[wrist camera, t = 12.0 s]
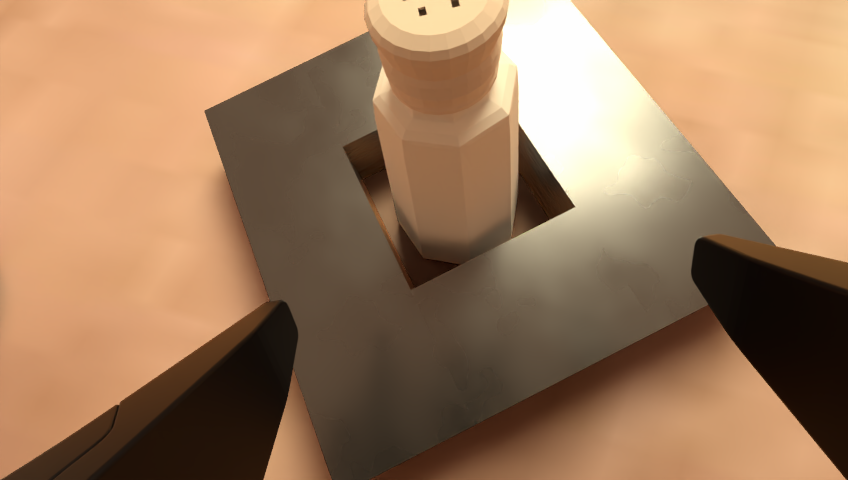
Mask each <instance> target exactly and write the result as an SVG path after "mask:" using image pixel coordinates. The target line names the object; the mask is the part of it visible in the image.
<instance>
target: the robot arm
mask: <svg viewBox="0 0 848 480" xmlns="http://www.w3.org/2000/svg"><path fill="white" fill-rule="evenodd" d="M691 276H692V279H693V282H694V283H695V285H696V287H697V288H698V290H699V291H700V293H701V294H702V296H703V297H704V299H705V300H706V302H707V303H708V305H709V306H710V308H711V309H712V311H713V312H714V314H715V316H716V317H717V319H718V320H719V322H720V323H721V325H722V326H723V328H724V329H725V331H726V332H727V334H728V335H729V336H730V338H731V339H732V341H733V342H734V343H735V344H736V346H737V347H738V348H739V350H740V351H741V352H742V353H743V354H744V356H745V357H746V358H747V359H748V361H749V362H750V363H751V364H752V365H753V367H754V368H755V369H756V370H757V371H758V373H759V374H760V375H761V376H762V378H763V379H764V380H765V381H766V382H767V384H768V385H769V386H770V387H771V389H772V390H773V391H774V392H775V393H776V395H777V396H778V397H779V398H780V399H781V401H782V402H783V403H784V404H785V406H786V407H787V408H788V409H789V410H790V412H791V413H792V414H793V415H794V416H795V418H796V419H797V420H798V421H799V423H800V424H801V425H802V426H803V427H804V429H805V430H806V431H807V432H808V434H809V435H810V436H811V437H812V438H813V440H814V441H815V442H816V443H817V444H818V446H819V447H820V448H821V449H822V451H823V452H824V453H825V454H826V455H827V457H828V458H829V459H830V460H831V461H832V463H833V464H834V465H835V466H836V468H837V469H838V470H839V471H840V472H841V474H842V475H843V476H844V477H845V479H846V480H848V263H847V262H843V261H838V260H834V259H830V258H825V257H821V256H816V255H812V254H807V253H803V252H799V251H794V250H790V249H785V248H781V247H776V246H772V245H768V244H763V243H759V242H754V241H750V240H745V239H741V238H737V237H732V236H728V235H723V234H714V235H707V236H701V237H699V238H698V239H697V240H696V241H695V244H694V251H693V258H692V265H691ZM297 343H298V328H297V326H296V323H295V321H294V318H293V316H292V313H291V311H290V308H289V306H288V304H287V303H286V301H284V300H276V301H270V302H266V303H264V304H263V305H261V306H260V307H258V308H257V309H255V310H254V311H253V312H251V313H250V314H248V315H247V316H245V317H244V318H242V319H241V320H239V321H238V322H236V323H235V324H234V325H232V326H231V327H229V328H228V329H226V330H225V331H223V332H222V333H220V334H219V335H217V336H216V337H215V338H213V339H212V340H210V341H209V342H207V343H206V344H204V345H203V346H201V347H200V348H198V349H197V350H196V351H194V352H193V353H191V354H190V355H188V356H187V357H185V358H184V359H182V360H181V361H179V362H178V363H177V364H175V365H174V366H172V367H171V368H169V369H168V370H166V371H165V372H163V373H162V374H160V375H159V376H158V377H156V378H155V379H153V380H152V381H150V382H149V383H147V384H146V385H144V386H143V387H141V388H140V389H139V390H137V391H136V392H134V393H133V394H131V395H130V396H128V397H127V398H125V399H124V400H122V401H121V402H120V405H115V406H114V407H112V408H111V409H109V410H108V411H106V412H105V413H103V414H102V415H100V416H99V417H97V418H96V419H94V420H93V421H91V422H90V423H88V424H87V425H85V426H84V427H82V428H81V429H79V430H78V431H76V432H75V433H73V434H72V435H70V436H69V437H67V438H66V439H65V440H63V441H61V442H60V443H58V444H57V445H55V446H54V447H52V448H50V449H49V450H47V451H46V452H44V453H43V454H41V455H39V456H38V457H36V458H35V459H33V460H32V461H30V462H29V463H27V464H25V465H24V466H22V467H21V468H19V469H17V470H16V471H14V472H13V473H11V474H9V475H8V476H6V477H5V478H3V479H1V480H263V479H264V475H265V472H266V469H267V465H268V462H269V459H270V455H271V452H272V449H273V445H274V442H275V438H276V435H277V432H278V428H279V425H280V422H281V418H282V415H283V412H284V408H285V405H286V401H287V397H288V392H289V388H290V382H291V376H292V371H293V365H294V360H295V354H296V348H297Z"/></svg>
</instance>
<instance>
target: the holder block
mask: <svg viewBox="0 0 848 480" xmlns="http://www.w3.org/2000/svg"><path fill="white" fill-rule="evenodd" d="M502 51H503V52H504V53H505V54H506V55H507V56H508V57H509V58H510V59H511V60H512V61H513V62H514V63H515V64H516V65H517V70H518V83H519V126H518V171H519V173H520V174H521V176H522V177H523V179H524V180H525V182H526V183H527V185H528V187H529V188H530V190H531V191H532V193H533V194H534V196H535V197H536V199H537V201H538V202H539V204H540V205H541V207H542V208H543V210H544V211H545V213H546V215H547V216H548V218H549V219H550V220H549V221H547V222H545V223H543V224H541V225H539V226H537V227H535V228H533V229H531V230H529V231H527V232H525V233H523V234H521V235H519V236H517V237H515V238H513V239H511V240H509V241H507V242H505V243H503V244H501V245H499V246H497V247H495V248H493V249H491V250H489V251H487V252H485V253H483V254H481V255H479V256H477V257H475V258H473V259H471V260H469V261H467V262H465V263H463V264H461V265H459V266H457V267H455V268H453V269H452V270H450V271H448V272H446V273H444V274H442V275H440V276H438V277H436V278H434V279H432V280H430V281H428V282H426V283H424V284H422V285H420V286H418V287H416V288H414V286H413V284H412V282H411V280H410V278H409V275H408V273H407V271H406V269H405V267H404V265H403V263H402V261H401V259H400V257H399V255H398V253H397V250H396V248H395V246H394V244H393V242H392V240H391V238H390V236H389V234H388V232H387V230H386V228H385V226H384V223H383V221H382V219H381V217H380V215H379V213H378V211H377V209H376V207H375V205H374V203H373V201H372V198H371V196H370V194H369V192H368V190H367V188H366V186H365V184H364V182H363V179H365V178H367V177H369V176H371V175H373V174H375V173H377V172H379V171H381V170H383V169H385V168H386V166H385V161H384V157H383V152H382V148H381V143H380V139H379V135H378V130H377V126H376V121H375V115H374V108H373V101H372V100H373V97H374V93H375V90H376V86H377V83H378V79H379V76H380V72H381V69H382V62H381V60H380V56H379V54H378V47H377V46H376V45H375V43H374V42H373V41H372V38H371V36H370V33H369V31H368V32H366V33H364V34H362V35H360V36H358V37H356V38H354V39H352V40H350V41H348V42H346V43H344V44H342V45H340V46H337V47H335V48H333V49H331V50H329V51H327V52H325V53H323V54H321V55H319V56H317V57H315V58H313V59H311V60H309V61H307V62H304V63H302V64H300V65H298V66H296V67H294V68H292V69H290V70H288V71H286V72H284V73H282V74H280V75H278V76H276V77H273V78H271V79H269V80H267V81H265V82H263V83H261V84H259V85H257V86H255V87H253V88H251V89H249V90H247V91H245V92H242V93H240V94H238V95H236V96H234V97H232V98H230V99H228V100H226V101H224V102H222V103H220V104H218V105H216V106H214V107H211V108H209V109H207V110H205V114H206V117H207V120H208V123H209V126H210V129H211V132H212V134H213V137H214V140H215V143H216V146H217V149H218V152H219V155H220V158H221V160H222V163H223V166H224V169H225V172H226V175H227V178H228V181H229V184H230V186H231V189H232V192H233V195H234V198H235V201H236V204H237V207H238V210H239V212H240V215H241V218H242V221H243V224H244V227H245V230H246V233H247V236H248V238H249V241H250V244H251V247H252V250H253V253H254V256H255V259H256V262H257V264H258V267H259V270H260V273H261V276H262V279H263V282H264V285H265V287H266V290H267V293H268V296H269V299H270V301H276V300H284V301H286V303H287V304H288V306H289V308H290V311H291V313H292V316H293V318H294V321H295V323H296V326H297V328H298V343H297V348H296V354H295V360H294V365H293V368H294V371H295V374H296V377H297V380H298V383H299V386H300V389H301V391H302V394H303V397H304V400H305V403H306V406H307V409H308V412H309V415H310V417H311V420H312V423H313V426H314V429H315V432H316V435H317V438H318V441H319V443H320V446H321V449H322V452H323V455H324V458H325V461H326V464H327V467H328V469H329V472H330V475H331V478H332V480H369V479H371V478H373V477H375V476H377V475H379V474H381V473H383V472H385V471H387V470H389V469H391V468H393V467H395V466H396V465H398V464H400V463H402V462H404V461H406V460H408V459H410V458H412V457H414V456H416V455H418V454H420V453H422V452H424V451H426V450H428V449H429V448H431V447H433V446H435V445H437V444H439V443H441V442H443V441H445V440H447V439H449V438H451V437H453V436H455V435H457V434H459V433H460V432H462V431H464V430H466V429H468V428H470V427H472V426H474V425H476V424H478V423H480V422H482V421H484V420H486V419H488V418H490V417H492V416H493V415H495V414H497V413H499V412H501V411H503V410H505V409H507V408H509V407H511V406H513V405H515V404H517V403H519V402H521V401H523V400H524V399H526V398H528V397H530V396H532V395H534V394H536V393H538V392H540V391H542V390H544V389H546V388H548V387H550V386H552V385H554V384H555V383H557V382H559V381H561V380H563V379H565V378H567V377H569V376H571V375H573V374H575V373H577V372H579V371H581V370H583V369H585V368H587V367H588V366H590V365H592V364H594V363H596V362H598V361H600V360H602V359H604V358H606V357H608V356H610V355H612V354H614V353H616V352H618V351H619V350H621V349H623V348H625V347H627V346H629V345H631V344H633V343H635V342H637V341H639V340H641V339H643V338H645V337H647V336H649V335H651V334H652V333H654V332H656V331H658V330H660V329H662V328H664V327H666V326H668V325H670V324H672V323H674V322H676V321H678V320H680V319H682V318H683V317H685V316H687V315H689V314H691V313H693V312H695V311H697V310H699V309H701V308H703V307H705V306H707V305H708V303H707V302H706V300H705V299H704V297H703V296H702V294H701V293H700V291H699V290H698V288H697V287H696V285H695V283H694V282H693V279H692V276H691V265H692V258H693V251H694V244H695V241H696V240H697V239H698V238H699V237H701V236H707V235H714V234H723V235H728V236H732V237H737V238H741V239H745V240H750V241H754V242H759V243H763V244H768V245H772V246H776V245H775V244H774V243H773V242H772V241H771V239H770V238H769V237H768V236H767V235H766V234H765V232H764V231H763V230H762V229H761V228H760V226H759V225H758V224H757V223H756V222H755V220H754V219H753V218H752V217H751V216H750V214H749V213H748V212H747V211H746V210H745V208H744V207H743V206H742V205H741V204H740V203H739V201H738V200H737V199H736V198H735V197H734V195H733V194H732V193H731V192H730V191H729V189H728V188H727V187H726V186H725V185H724V183H723V182H722V181H721V180H720V179H719V177H718V176H717V175H716V174H715V173H714V172H713V170H712V169H711V168H710V167H709V166H708V164H707V163H706V162H705V161H704V160H703V158H702V157H701V156H700V155H699V154H698V152H697V151H696V150H695V149H694V148H693V147H692V145H691V144H690V143H689V142H688V141H687V139H686V138H685V137H684V136H683V135H682V133H681V132H680V131H679V130H678V129H677V127H676V126H675V125H674V124H673V123H672V121H671V120H670V119H669V118H668V117H667V116H666V114H665V113H664V112H663V111H662V110H661V108H660V107H659V106H658V105H657V104H656V102H655V101H654V100H653V99H652V98H651V96H650V95H649V94H648V93H647V92H646V90H645V89H644V88H643V87H642V86H641V85H640V83H639V82H638V81H637V80H636V79H635V77H634V76H633V75H632V74H631V73H630V71H629V70H628V69H627V68H626V67H625V65H624V64H623V63H622V62H621V61H620V60H619V58H618V57H617V56H616V55H615V54H614V52H613V51H612V50H611V49H610V48H609V46H608V45H607V44H606V43H605V42H604V40H603V39H602V38H601V37H600V36H599V34H598V33H597V32H596V31H595V30H594V29H593V27H592V26H591V25H590V24H589V23H588V21H587V20H586V19H585V18H584V17H583V15H582V14H581V13H580V12H579V11H578V9H577V8H576V7H575V6H574V5H573V3H572V2H571V1H570V0H509V6H508V11H507V17H506V22H505V24H504V27H503V38H502Z"/></svg>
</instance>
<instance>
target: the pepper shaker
mask: <svg viewBox="0 0 848 480" xmlns="http://www.w3.org/2000/svg"><path fill="white" fill-rule="evenodd" d="M508 6H509V0H365V4H364V19H365V22H366V25H367V28H368V30H369V33H370V36H371V38H372V41H373V42H374V43H375V45H376V46H377V47H378V54H379V56H380V60H381V62H382V69H381V72H380V76H379V79H378V83H377V86H376V90H375V93H374V97H373V100H372V101H373V108H374V115H375V121H376V126H377V130H378V135H379V139H380V143H381V148H382V152H383V157H384V161H385V166H386V170H387V175H388V179H389V183H390V188H391V192H392V197H393V201H394V206H395V210H396V215H397V219H398V222H399V223H400V225H401V226H402V228H403V229H404V231H405V232H406V234H407V235H408V236H409V238H410V239H411V241H412V242H413V244H414V245H415V247H416V248H417V250H418V251H419V253H420V254H421V255H422V257H423V258H427V259H432V260H438V261H444V262H450V263H455V264H463V263H465V262H467V261H469V260H471V259H473V258H475V257H477V256H479V255H481V254H483V253H485V252H487V251H489V250H491V249H493V248H495V247H497V246H499V245H501V244H503V243H505V242H507V241H509V240H511V238H512V231H513V225H514V218H515V212H516V205H517V199H518V126H519V83H518V70H517V65H516V64H515V63H514V62H513V61H512V60H511V59H510V58H509V57H508V56H507V55H506V54H505V53H504V52H503V51H502V38H503V27H504V24H505V22H506V17H507V11H508Z"/></svg>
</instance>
